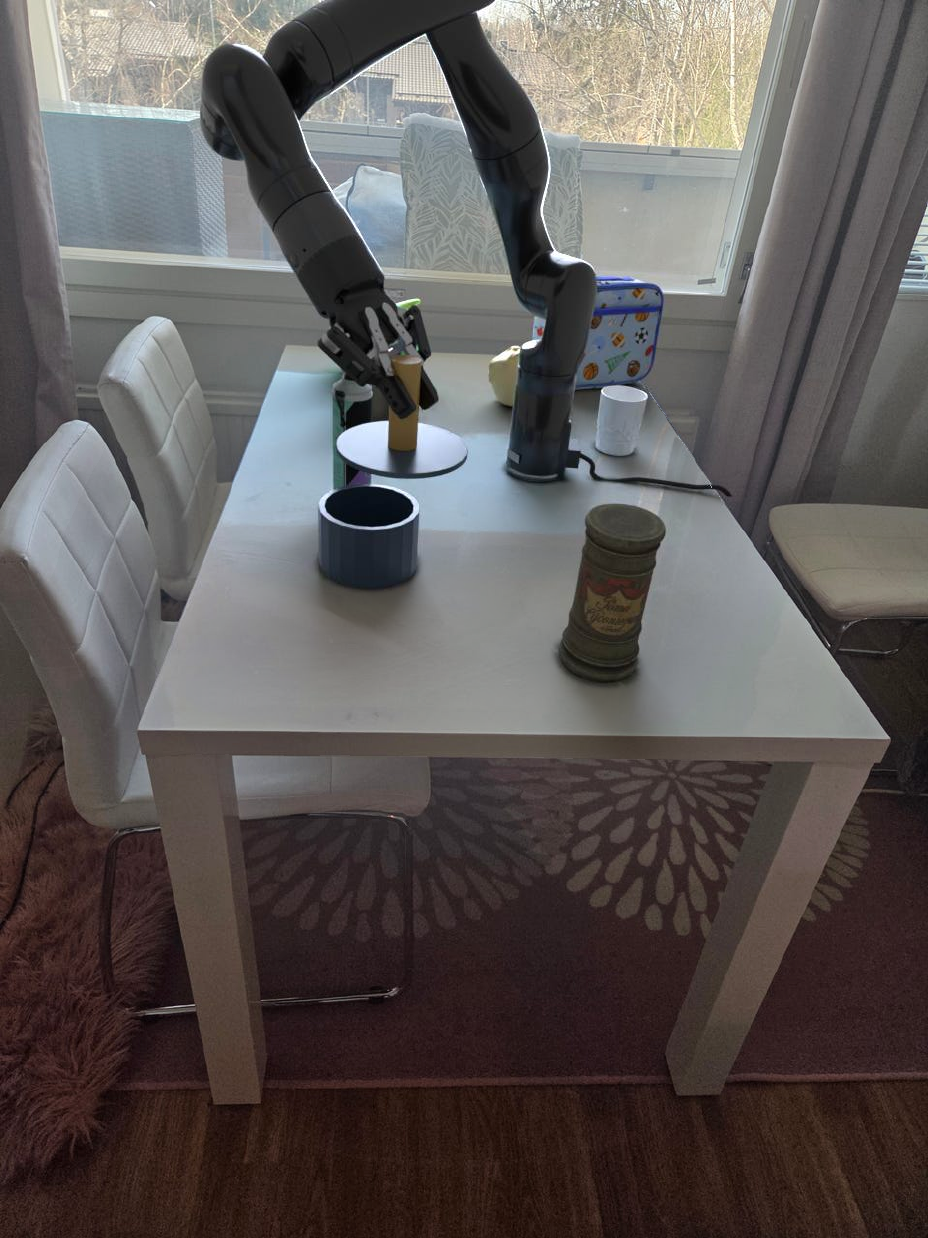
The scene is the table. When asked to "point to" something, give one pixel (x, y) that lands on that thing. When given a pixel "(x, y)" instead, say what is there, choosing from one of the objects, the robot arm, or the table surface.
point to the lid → (402, 439)
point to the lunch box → (618, 333)
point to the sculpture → (504, 375)
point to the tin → (368, 535)
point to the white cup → (619, 419)
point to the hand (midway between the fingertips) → (420, 409)
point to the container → (611, 592)
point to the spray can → (349, 425)
